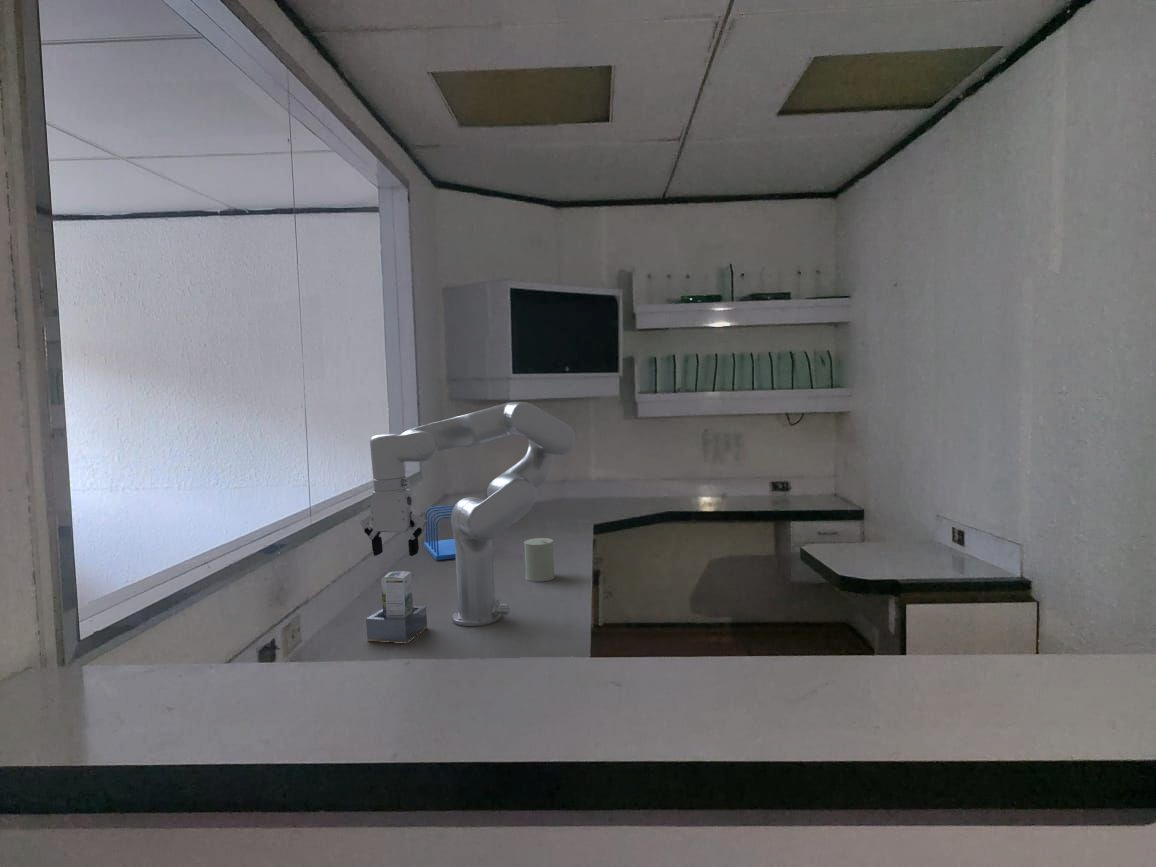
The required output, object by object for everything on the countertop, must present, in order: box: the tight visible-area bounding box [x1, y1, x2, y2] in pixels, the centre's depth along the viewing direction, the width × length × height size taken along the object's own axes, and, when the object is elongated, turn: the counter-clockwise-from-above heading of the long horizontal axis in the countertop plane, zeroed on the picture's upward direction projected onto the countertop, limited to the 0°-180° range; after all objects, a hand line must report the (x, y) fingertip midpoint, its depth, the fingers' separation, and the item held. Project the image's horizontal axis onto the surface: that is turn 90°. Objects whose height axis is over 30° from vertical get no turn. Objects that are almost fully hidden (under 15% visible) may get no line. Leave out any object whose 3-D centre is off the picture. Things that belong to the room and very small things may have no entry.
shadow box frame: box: [365, 605, 428, 644], centre depth 165 cm, size 10×10×6 cm
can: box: [523, 537, 556, 583], centre depth 210 cm, size 9×9×12 cm
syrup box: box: [381, 570, 414, 619], centre depth 165 cm, size 6×6×14 cm
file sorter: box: [423, 504, 456, 561], centre depth 249 cm, size 25×17×15 cm
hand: (395, 554), depth 164 cm, fingers open, 9 cm apart
